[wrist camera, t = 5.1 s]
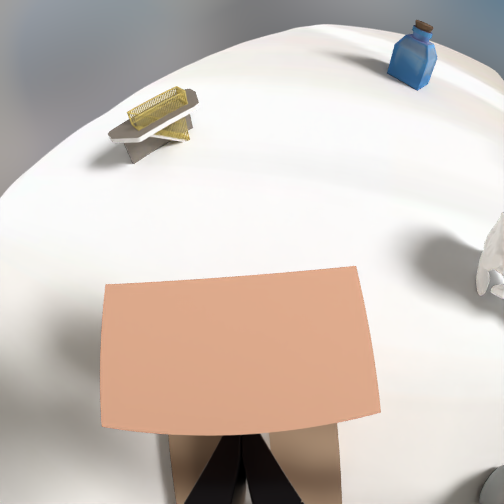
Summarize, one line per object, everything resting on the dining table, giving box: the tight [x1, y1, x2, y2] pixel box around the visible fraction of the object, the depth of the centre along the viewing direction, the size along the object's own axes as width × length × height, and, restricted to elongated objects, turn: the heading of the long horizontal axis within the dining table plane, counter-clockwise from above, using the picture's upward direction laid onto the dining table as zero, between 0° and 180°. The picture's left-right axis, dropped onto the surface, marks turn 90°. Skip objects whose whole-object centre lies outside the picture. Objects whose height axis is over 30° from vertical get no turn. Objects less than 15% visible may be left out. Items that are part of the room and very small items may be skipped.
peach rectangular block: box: [100, 266, 381, 436], centre depth 12 cm, size 4×7×12 cm, turn 95°
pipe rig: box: [168, 423, 342, 504], centre depth 13 cm, size 20×11×5 cm, turn 4°
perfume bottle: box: [387, 20, 437, 91], centre depth 33 cm, size 6×6×12 cm
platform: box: [108, 86, 199, 164], centre depth 26 cm, size 12×18×7 cm, turn 132°
